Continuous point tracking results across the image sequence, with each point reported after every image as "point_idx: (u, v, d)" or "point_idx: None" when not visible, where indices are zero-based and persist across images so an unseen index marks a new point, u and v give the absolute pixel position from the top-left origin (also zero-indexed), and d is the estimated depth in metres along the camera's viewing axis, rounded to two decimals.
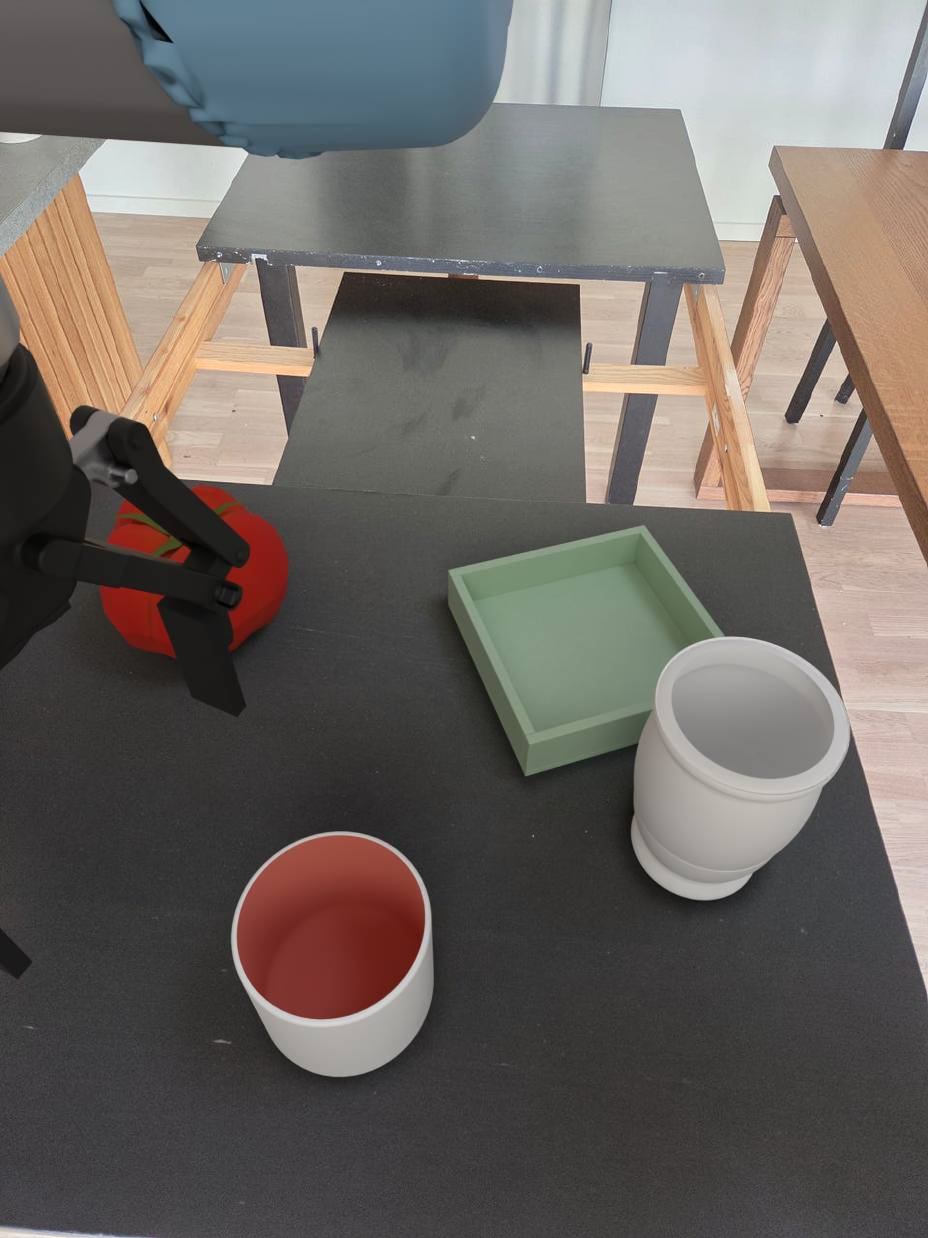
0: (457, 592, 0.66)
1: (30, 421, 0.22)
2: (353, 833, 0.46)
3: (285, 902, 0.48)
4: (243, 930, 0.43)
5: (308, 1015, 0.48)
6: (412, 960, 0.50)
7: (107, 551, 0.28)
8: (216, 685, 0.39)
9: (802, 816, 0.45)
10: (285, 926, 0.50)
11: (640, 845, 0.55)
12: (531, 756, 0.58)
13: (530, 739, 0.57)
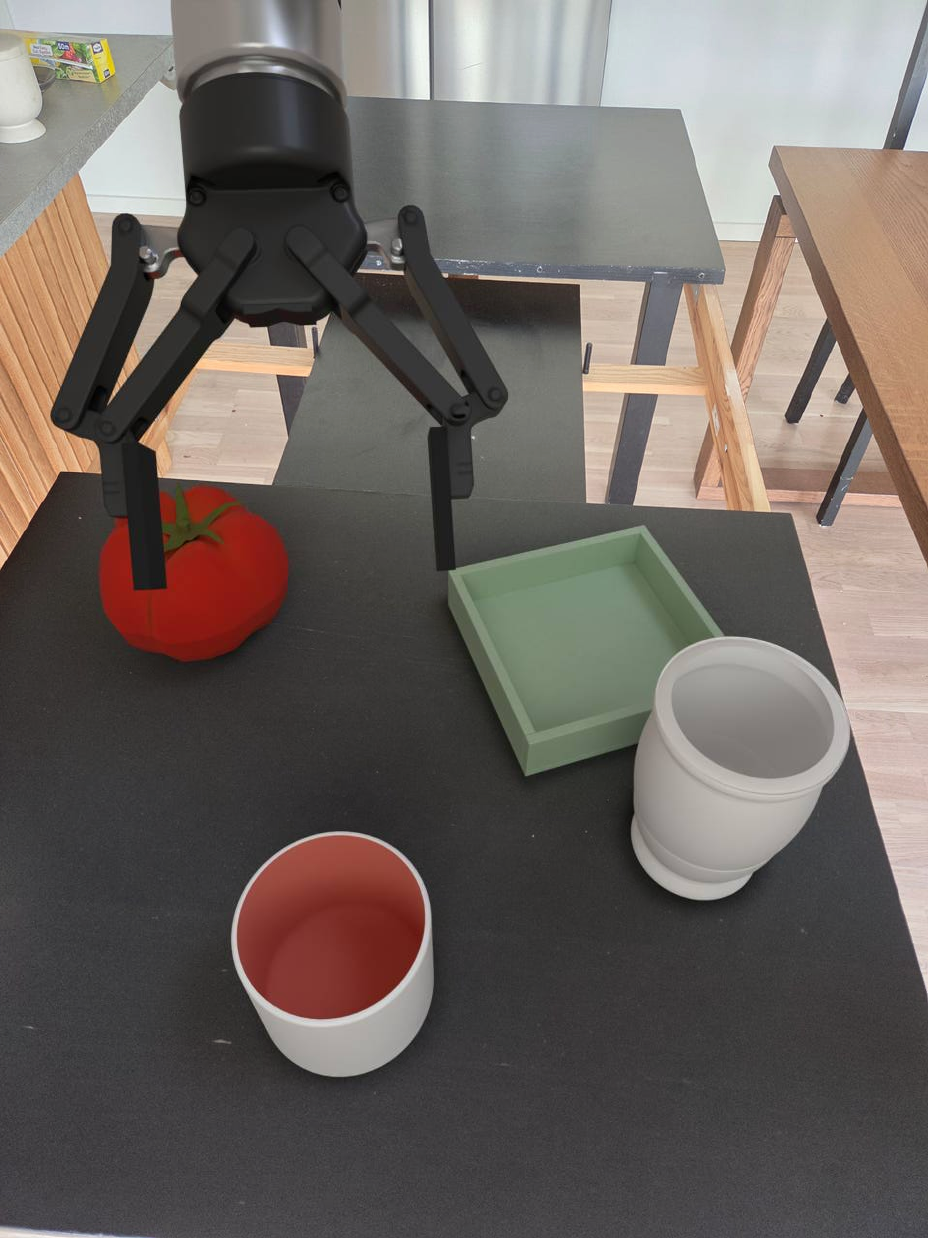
0: (457, 592, 0.66)
1: (287, 90, 0.35)
2: (353, 833, 0.46)
3: (285, 902, 0.48)
4: (243, 930, 0.43)
5: (308, 1015, 0.48)
6: (412, 960, 0.50)
7: (346, 270, 0.37)
8: (435, 526, 0.39)
9: (802, 816, 0.45)
10: (285, 926, 0.50)
11: (640, 845, 0.55)
12: (531, 756, 0.58)
13: (530, 739, 0.57)
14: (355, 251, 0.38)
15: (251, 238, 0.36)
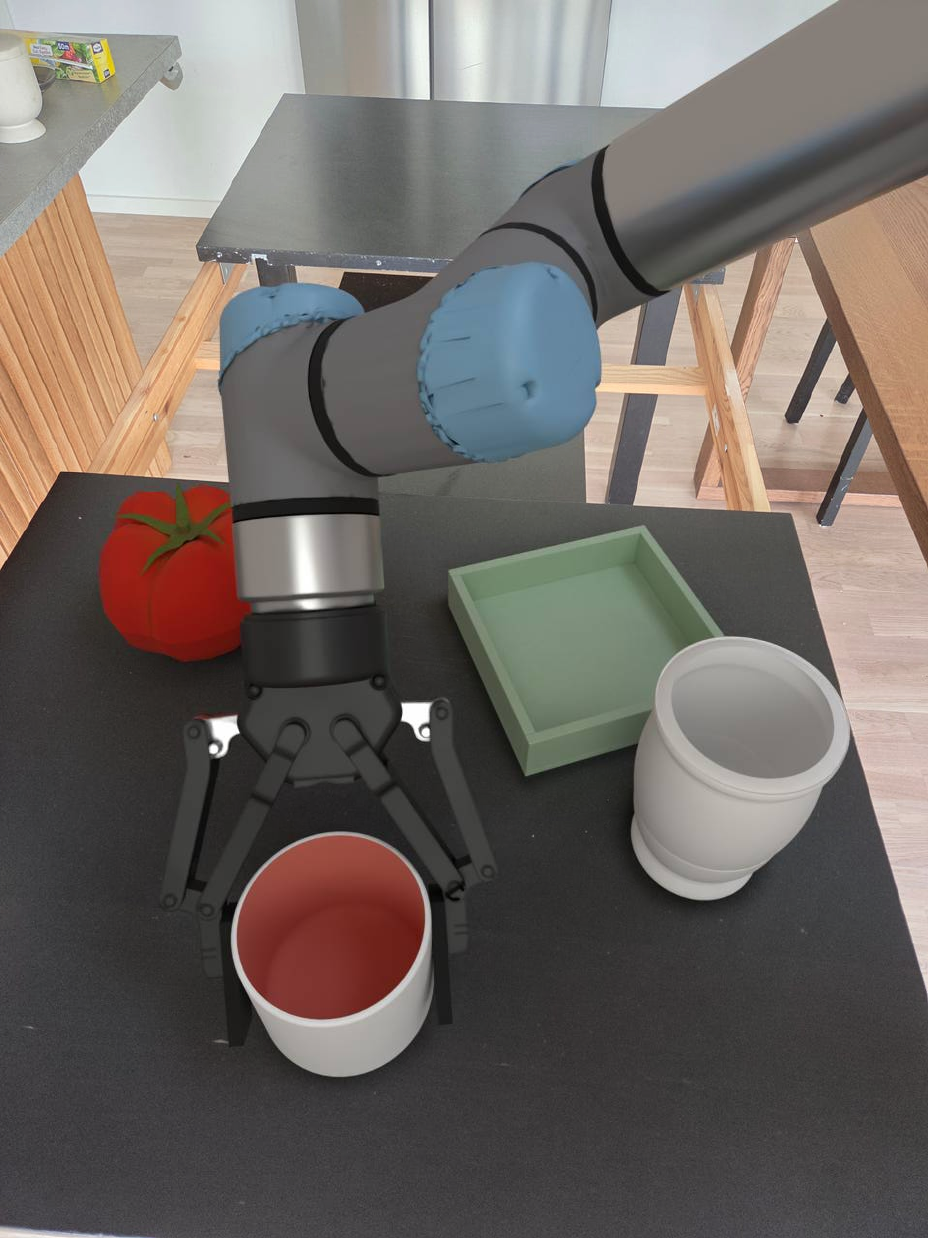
0: (457, 592, 0.66)
1: (335, 627, 0.40)
2: (353, 833, 0.46)
3: (285, 902, 0.48)
4: (243, 930, 0.43)
5: (308, 1015, 0.48)
6: (412, 960, 0.50)
7: (379, 761, 0.43)
8: None
9: (802, 816, 0.45)
10: (285, 926, 0.50)
11: (640, 845, 0.55)
12: (531, 756, 0.58)
13: (530, 739, 0.57)
14: (388, 731, 0.43)
15: (302, 732, 0.42)
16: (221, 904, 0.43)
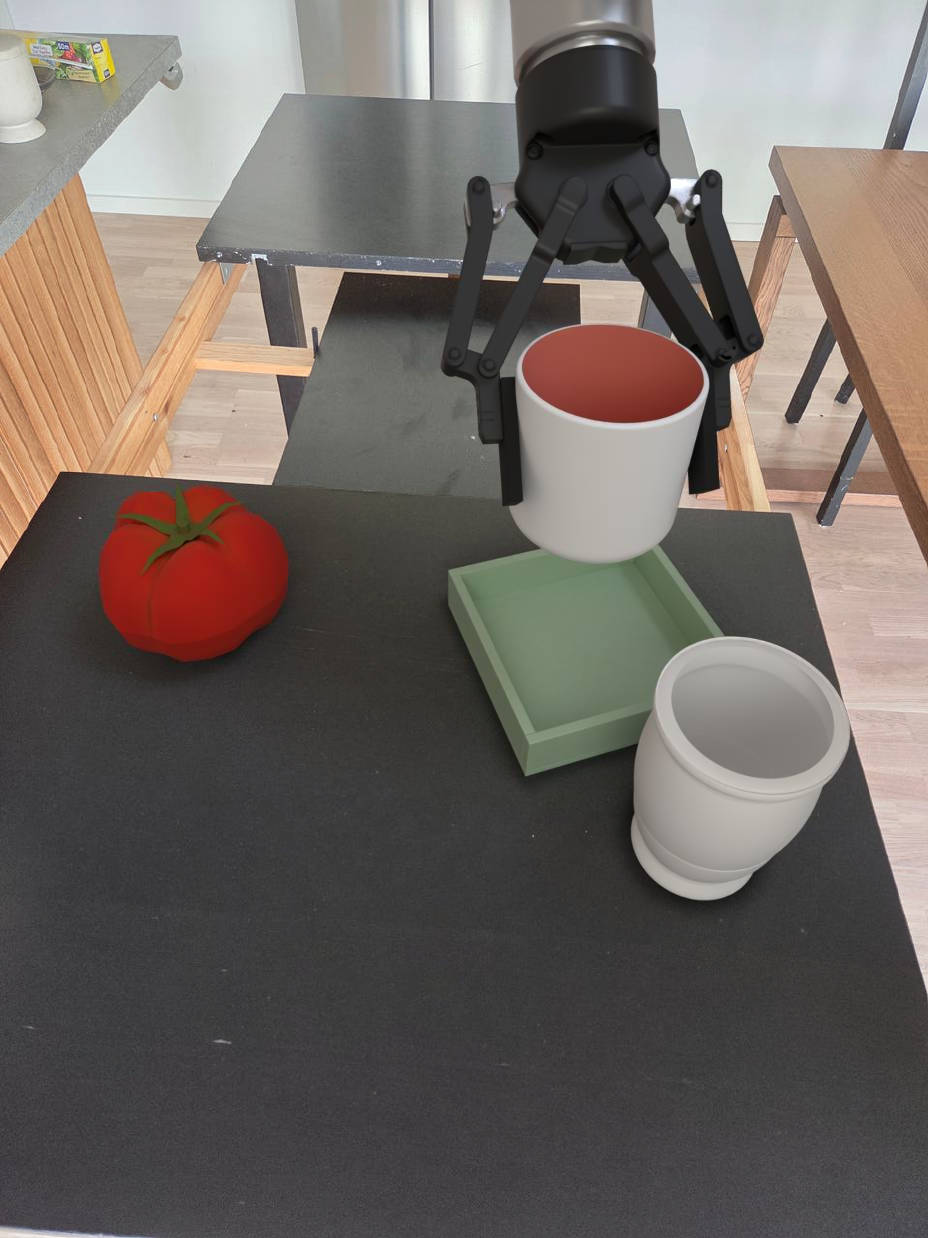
0: (457, 592, 0.66)
1: (628, 60, 0.42)
2: None
3: None
4: None
5: None
6: None
7: (655, 219, 0.44)
8: (699, 452, 0.46)
9: (802, 816, 0.45)
10: None
11: (640, 845, 0.55)
12: (531, 756, 0.58)
13: (530, 739, 0.57)
14: (660, 199, 0.45)
15: (584, 183, 0.43)
16: (502, 360, 0.44)
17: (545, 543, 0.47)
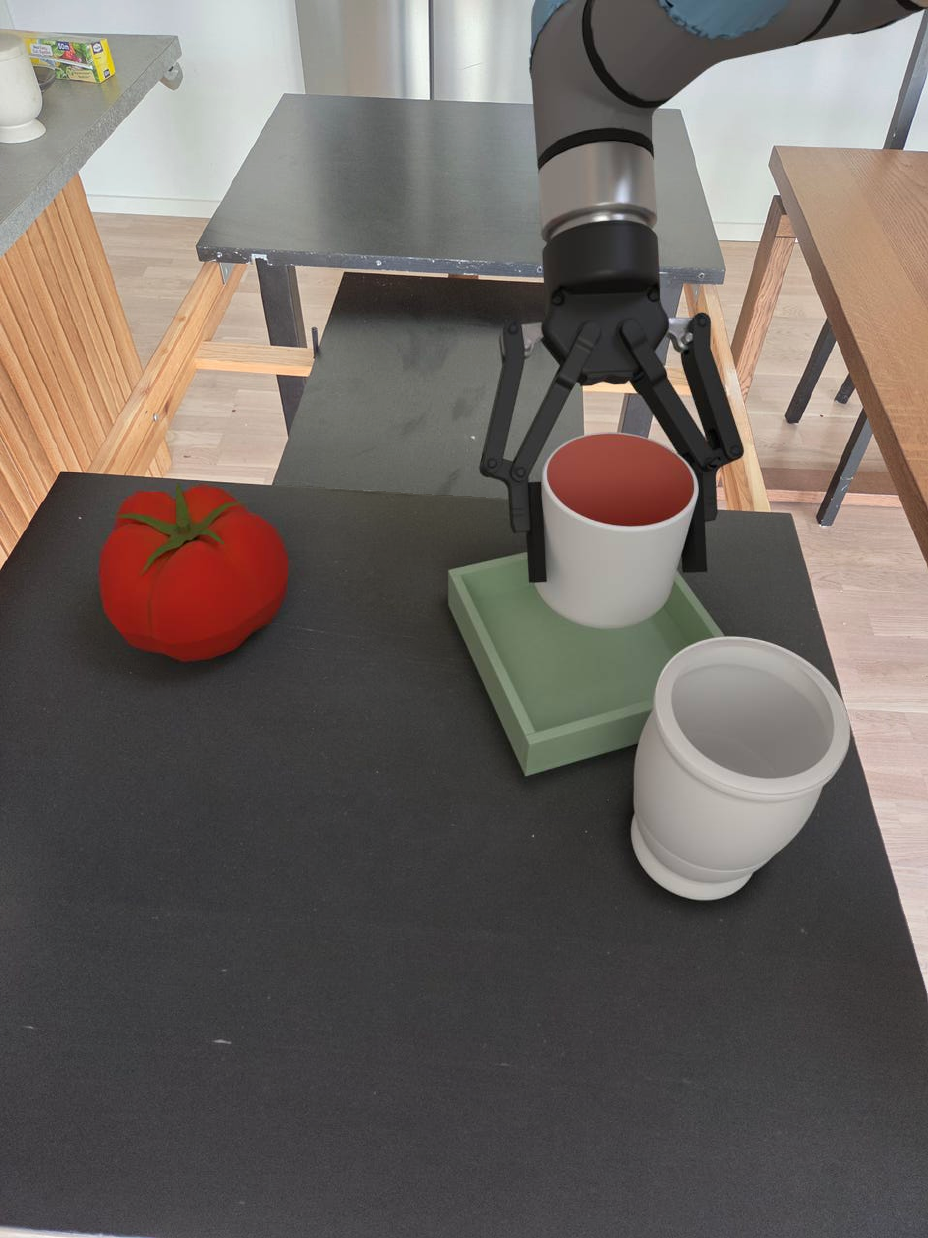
0: (457, 592, 0.66)
1: (634, 232, 0.52)
2: None
3: None
4: None
5: None
6: None
7: (656, 355, 0.54)
8: (691, 541, 0.56)
9: (802, 816, 0.45)
10: None
11: (640, 845, 0.55)
12: (531, 756, 0.58)
13: (530, 739, 0.57)
14: (659, 336, 0.55)
15: (598, 327, 0.54)
16: (531, 468, 0.54)
17: (563, 612, 0.58)
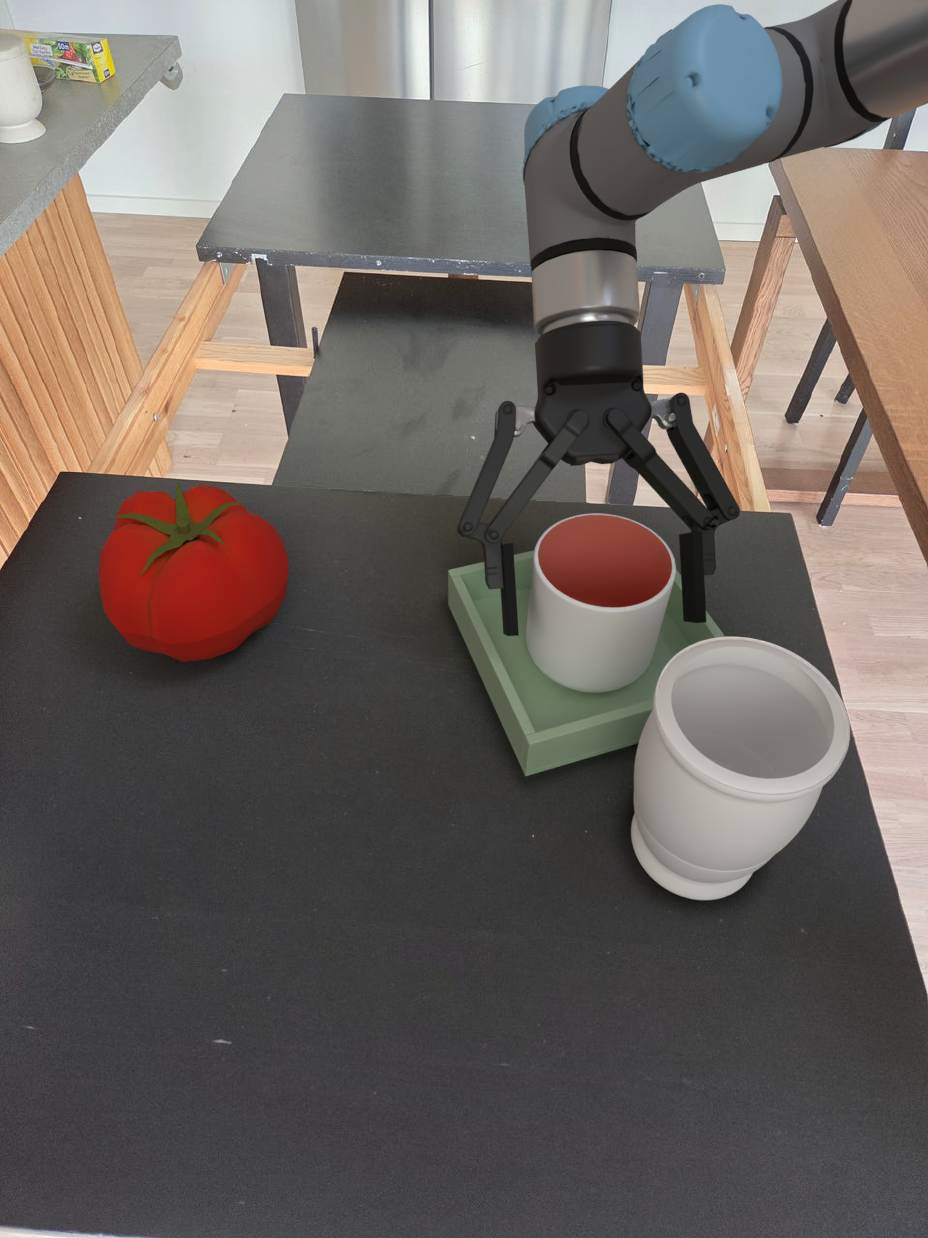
0: (457, 592, 0.66)
1: (619, 332, 0.57)
2: (606, 514, 0.63)
3: (546, 577, 0.65)
4: None
5: None
6: None
7: (643, 435, 0.59)
8: (691, 594, 0.61)
9: (802, 816, 0.45)
10: None
11: (640, 845, 0.55)
12: (531, 756, 0.58)
13: (530, 739, 0.57)
14: (645, 421, 0.60)
15: (587, 417, 0.58)
16: (504, 532, 0.59)
17: (554, 677, 0.63)
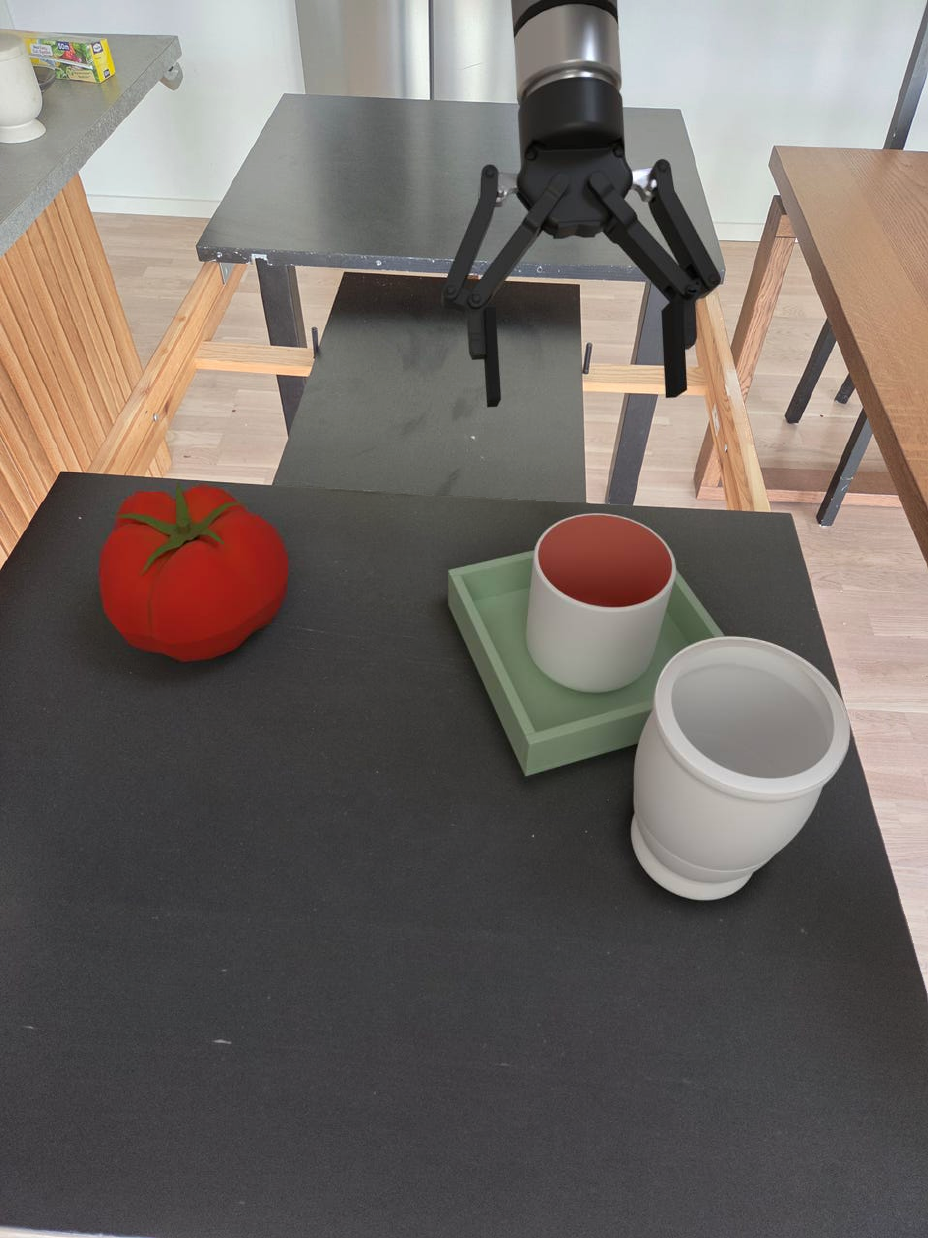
0: (457, 592, 0.66)
1: (599, 87, 0.57)
2: (606, 514, 0.63)
3: (546, 577, 0.65)
4: None
5: None
6: None
7: (624, 199, 0.60)
8: (672, 363, 0.62)
9: (802, 816, 0.45)
10: None
11: (640, 845, 0.55)
12: (531, 756, 0.58)
13: (530, 739, 0.57)
14: (627, 188, 0.60)
15: (568, 179, 0.59)
16: (486, 296, 0.60)
17: (554, 677, 0.63)
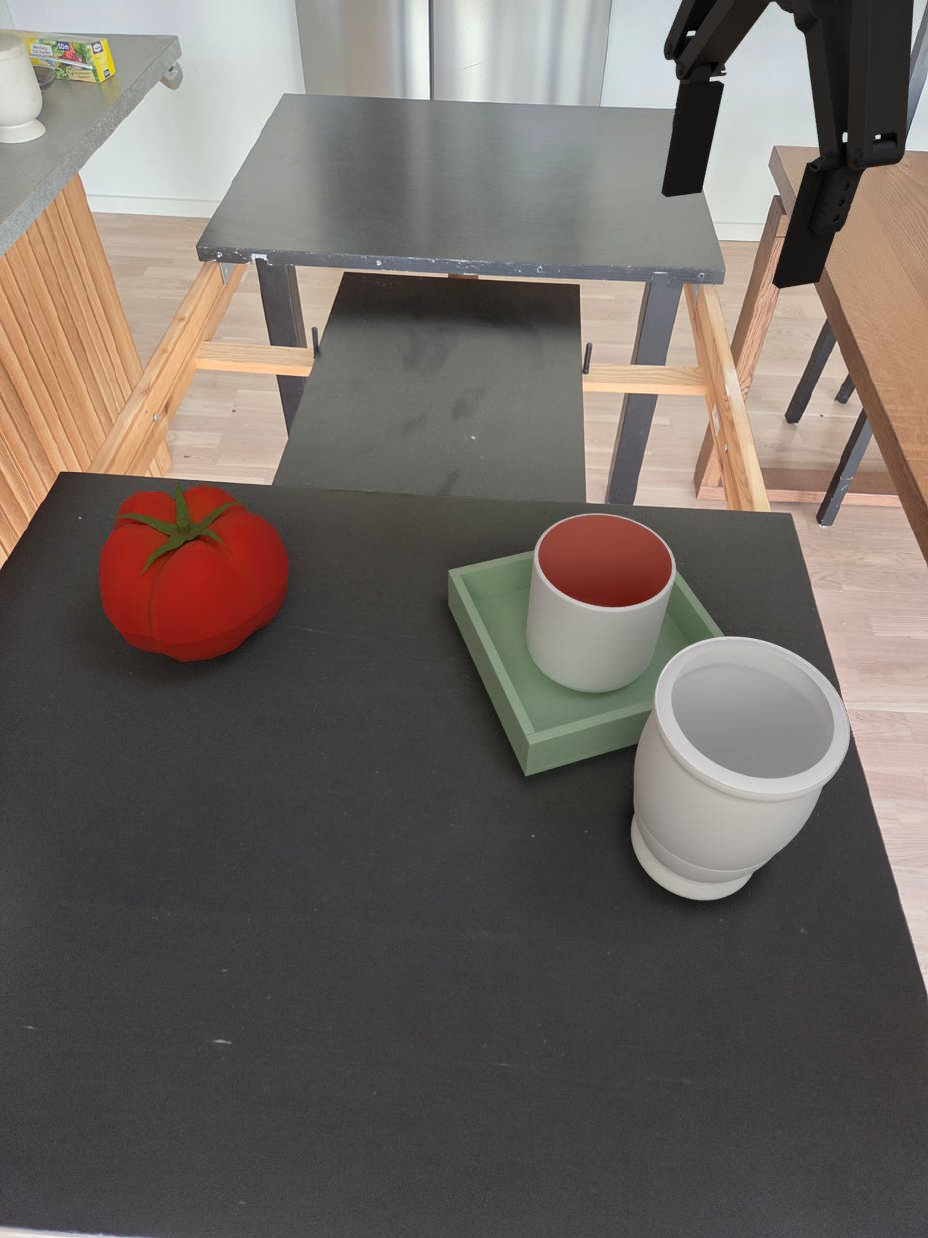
0: (457, 592, 0.66)
1: None
2: (606, 514, 0.63)
3: (546, 577, 0.65)
4: None
5: None
6: None
7: None
8: None
9: (802, 816, 0.45)
10: None
11: (640, 845, 0.55)
12: (531, 756, 0.58)
13: (530, 739, 0.57)
14: None
15: None
16: (686, 70, 0.52)
17: (554, 677, 0.63)
